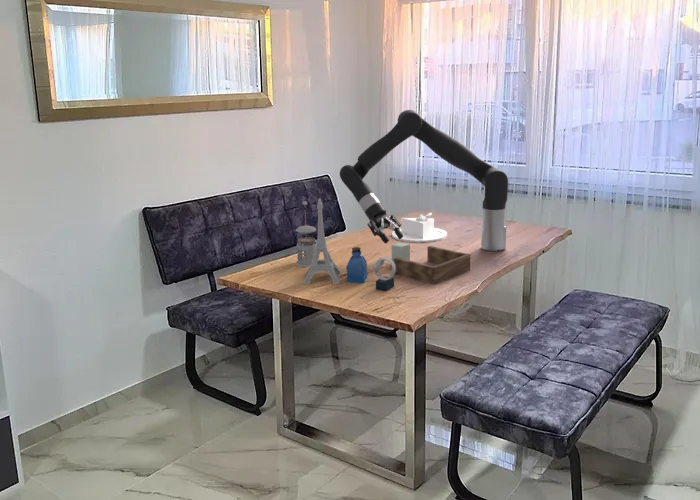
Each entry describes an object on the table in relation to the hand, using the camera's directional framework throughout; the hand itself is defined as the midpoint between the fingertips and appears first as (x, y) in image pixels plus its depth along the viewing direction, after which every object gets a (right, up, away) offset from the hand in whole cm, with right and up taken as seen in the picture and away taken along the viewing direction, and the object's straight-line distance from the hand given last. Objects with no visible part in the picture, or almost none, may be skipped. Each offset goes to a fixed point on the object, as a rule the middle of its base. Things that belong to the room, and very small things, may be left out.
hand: (394, 240), depth 263 cm
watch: (-5, -17, -26) cm, 32 cm away
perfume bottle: (-15, -15, -17) cm, 27 cm away
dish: (+14, +2, +42) cm, 45 cm away
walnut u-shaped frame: (+13, -12, -10) cm, 20 cm away
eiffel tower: (-27, -15, -13) cm, 34 cm away
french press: (-35, -9, +6) cm, 36 cm away
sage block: (+2, -9, +1) cm, 10 cm away
